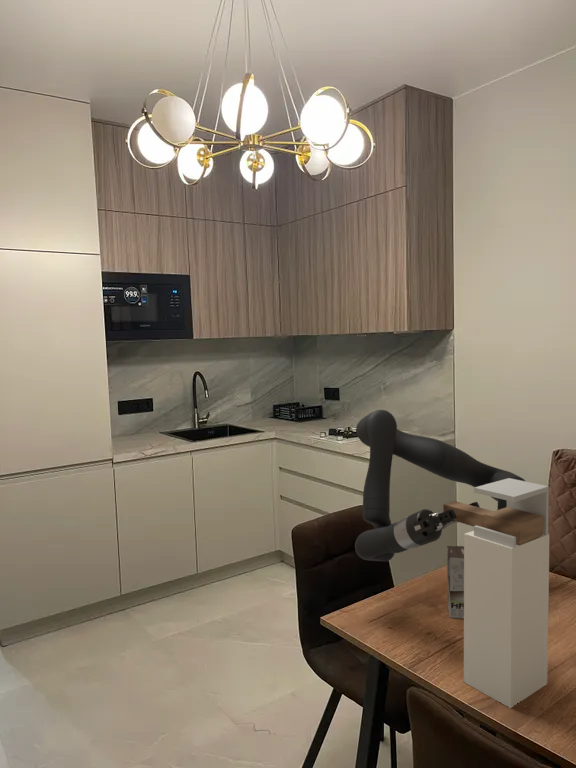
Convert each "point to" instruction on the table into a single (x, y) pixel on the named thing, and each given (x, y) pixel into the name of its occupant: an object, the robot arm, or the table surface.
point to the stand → (507, 600)
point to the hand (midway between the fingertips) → (466, 509)
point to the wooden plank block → (500, 520)
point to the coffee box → (455, 581)
